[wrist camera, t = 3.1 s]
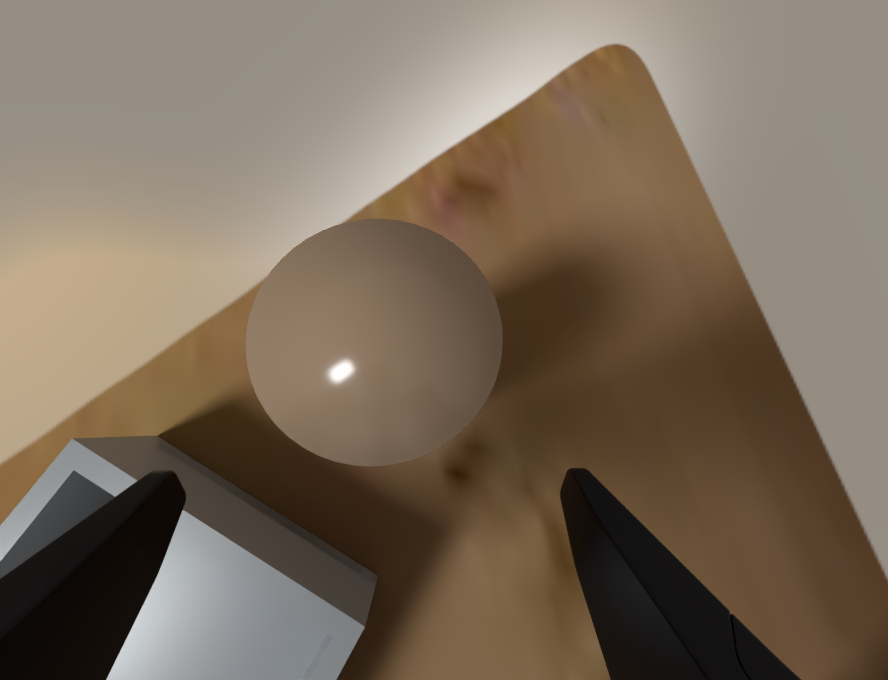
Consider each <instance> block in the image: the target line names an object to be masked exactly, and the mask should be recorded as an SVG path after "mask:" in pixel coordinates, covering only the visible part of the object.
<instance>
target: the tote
mask: <svg viewBox="0 0 888 680" xmlns="http://www.w3.org/2000/svg"><path fill="white" fill-rule="evenodd" d="M155 470H172V471H174V472H175V473H176V474H177V476H178V478H179V480H180V482H181V484H182V486H183V488H184V490H185V492H186V502H185V505H184V508H183V510H182V513H181V516H180V518H179V521H178V524H177V526H176V529H175V532H174V534H173V537H172V539H171V542H170V545H169V547H168V550H167V553H166V555H165V558H164V561H163V563H162V566H161V568H160V570H159V573H158V575H157V577H156V579H155V582H154V584H153V586H152V588H151V590H150V592H149V594H148V596H147V598H146V600H145V602H144V604H143V606H142V608H141V610H140V612H139V614H138V616H137V618H136V620H135V622H134V624H133V627H132V629H131V631H130V633H129V635H128V637H127V639H126V641H125V643H124V645H123V647H122V649H121V651H120V653H119V655H118V657H117V659H116V661H115V663H114V665H113V667H112V669H111V671H110V673H109V675H108V677H107V679H106V680H336V679H337V678H338V676H339V674H340V672H341V670H342V668H343V667H344V665H345V663H346V661H347V659H348V657H349V656H350V654H351V652H352V650H353V648H354V646H355V644H356V643H357V641H358V639H359V637H360V635H361V633H362V632H363V630H364V628H365V625H366V621H367V618H368V614H369V610H370V606H371V602H372V598H373V595H374V591H375V587H376V583H377V579H378V575H376V574H375V573H373V572H372V571H370V570H368V569H367V568H365V567H364V566H362V565H360V564H359V563H357V562H356V561H354V560H353V559H351V558H349V557H348V556H346V555H345V554H343V553H341V552H340V551H338V550H337V549H335V548H334V547H332V546H330V545H329V544H327V543H326V542H324V541H322V540H321V539H319V538H318V537H316V536H315V535H313V534H311V533H310V532H308V531H307V530H305V529H303V528H302V527H300V526H299V525H297V524H296V523H294V522H292V521H291V520H289V519H288V518H286V517H284V516H283V515H281V514H280V513H278V512H277V511H275V510H273V509H272V508H270V507H269V506H267V505H265V504H264V503H262V502H261V501H259V500H258V499H256V498H254V497H253V496H251V495H250V494H248V493H246V492H245V491H243V490H242V489H240V488H239V487H237V486H235V485H234V484H232V483H231V482H229V481H227V480H226V479H224V478H223V477H221V476H220V475H218V474H216V473H215V472H213V471H212V470H210V469H208V468H207V467H205V466H204V465H202V464H201V463H199V462H197V461H196V460H194V459H193V458H191V457H189V456H188V455H186V454H185V453H183V452H182V451H180V450H178V449H177V448H175V447H174V446H172V445H170V444H169V443H167V442H166V441H164V440H163V439H161V438H159V437H158V436H133V437H104V438H75V439H71V441H70V442H69V443H68V444H67V445H66V447H65V448H64V449H63V450H62V452H61V453H60V454H59V455H58V456H57V458H56V459H55V460H54V461H53V462H52V464H51V465H50V466H49V467H48V469H47V470H46V471H45V472H44V473H43V475H42V476H41V477H40V478H39V480H38V481H37V482H36V483H35V484H34V486H33V487H32V488H31V489H30V491H29V492H28V493H27V494H26V495H25V497H24V498H23V499H22V500H21V501H20V503H19V504H18V505H17V506H16V508H15V509H14V510H13V511H12V512H11V514H10V515H9V516H8V517H7V519H6V520H5V521H4V522H3V523H2V525H1V526H0V578H2V577H3V576H4V575H6V574H7V573H9V572H10V571H12V570H13V569H14V568H16V567H17V566H19V565H20V564H21V563H23V562H24V561H26V560H27V559H28V558H30V557H31V556H33V555H34V554H35V553H37V552H38V551H40V550H41V549H42V548H44V547H45V546H47V545H48V544H49V543H51V542H52V541H54V540H55V539H56V538H58V537H59V536H61V535H62V534H64V533H65V532H66V531H68V530H69V529H71V528H72V527H73V526H75V525H76V524H78V523H79V522H80V521H82V520H83V519H85V518H86V517H87V516H89V515H90V514H92V513H93V512H94V511H96V510H97V509H99V508H100V507H101V506H103V505H104V504H106V503H107V502H108V501H110V500H111V499H113V498H114V497H115V496H117V495H118V494H120V493H121V492H123V491H124V490H125V489H127V488H128V487H130V486H131V485H132V484H134V483H135V482H137V481H138V480H139V479H141V478H142V477H144V476H145V475H146V474H148V473H150V472H152V471H155Z"/></svg>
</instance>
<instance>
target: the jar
mask: <svg viewBox="0 0 888 680" xmlns="http://www.w3.org/2000/svg"><path fill="white" fill-rule="evenodd" d="M502 350H503V331H502V321H501V316H500V312H499V308H498V304H497V302H496V299H495V296H494V294H493V291H492V289H491V287H490V285H489V283H488V282H487V280H486V278H485V276H484V275H483V274H482V272H481V271H480V269H479V268H478V267H477V265H476V264H475V263H474V262H473V261H472V260H471V259H470V258H469V256H468V255H467V254H466V253H465V252H463V251H462V250H461V249H460V248H459V247H457V246H456V245H455V244H454V243H452V242H451V241H449V240H448V239H446V238H444V237H443V236H441V235H439V234H437V233H435V232H433V231H431V230H429V229H427V228H424V227H421V226H418V225H415V224H412V223H407V222H402V221H397V220H387V219H366V220H359V221H351V222H348V223H344V224H340V225H336V226H333V227H331V228H328V229H326V230H323V231H321V232H319V233H317V234H315V235H313V236H311V237H309V238H308V239H306V240H305V241H303V242H302V243H301V244H299V245H298V246H296V247H295V248H293V249H292V250H291V251H290V252H289V253H288V254H287V255H286V256H285V257H283V258H282V259H281V260H280V262H279V263H278V264H277V265H276V266H275V267H274V268H273V270H272V271H271V272H270V274H269V275H268V277H267V278H266V280H265V281H264V283H263V284H262V286H261V288H260V290H259V292H258V294H257V296H256V298H255V301H254V304H253V306H252V309H251V312H250V316H249V321H248V326H247V331H246V358H247V366H248V371H249V375H250V379H251V382H252V385H253V388H254V390H255V393H256V395H257V397H258V399H259V401H260V403H261V405H262V406H263V408H264V410H265V412H266V413H267V414H268V415H269V417H270V418H271V419H272V421H273V422H274V423H275V424H276V426H277V427H278V428H280V429H281V430H282V431H283V432H284V433H285V434H286V435H287V436H288V437H289V438H290V439H292V440H293V441H295V442H296V443H297V444H299V445H300V446H301V447H303V448H305V449H307V450H309V451H310V452H312V453H314V454H316V455H318V456H321V457H323V458H326V459H329V460H332V461H335V462H339V463H344V464H349V465H353V466H369V467H374V466H388V465H394V464H399V463H404V462H408V461H411V460H414V459H416V458H419V457H422V456H425V455H427V454H429V453H431V452H433V451H435V450H437V449H438V448H440V447H442V446H443V445H445V444H446V443H448V442H449V441H451V440H452V439H453V438H455V437H456V436H457V435H458V434H459V433H460V432H461V431H463V430H464V429H465V428H466V427H467V426H468V425H469V424H470V423H471V421H472V420H473V419H474V418H475V417H476V415H477V414H478V413H479V412H480V410H481V408H482V407H483V405H484V404H485V402H486V401H487V399H488V397H489V395H490V393H491V391H492V388H493V386H494V384H495V381H496V378H497V375H498V372H499V368H500V363H501V357H502Z"/></svg>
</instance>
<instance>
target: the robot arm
mask: <svg viewBox="0 0 888 680" xmlns="http://www.w3.org/2000/svg"><path fill="white" fill-rule="evenodd" d="M560 497H561V503H562V508H563V512H564V517H565V522H566V527H567V531H568V536H569V541H570V546H571V550H572V555H573V559H574V564H575V567H576V571H577V574H578V578H579V581H580V584H581V587H582V590H583V593H584V597H585V600H586V603H587V606H588V609H589V612H590V615H591V619H592V622H593V625H594V628H595V631H596V634H597V638H598V641H599V644H600V647H601V650H602V653H603V656H604V660H605V663H606V666H607V669H608V672H609V675H610V678H611V680H801V679H800V678H799V677H798V676H797V675H796V674H795V673H793V672H792V671H791V670H790V669H789V668H788V667H787V666H786V665H785V664H784V663H783V662H782V661H780V660H779V659H778V658H777V657H776V656H775V655H774V654H773V653H772V652H771V651H770V650H769V649H768V648H767V647H766V646H765V645H764V644H763V643H762V642H761V641H760V640H759V639H758V638H757V637H756V636H755V635H754V634H752V633H751V632H750V631H749V630H748V629H747V628H746V627H745V626H744V625H743V624H742V623H741V622H740V621H739V620H738V619H737V618H736V617H735V616H734V615H733V614H731V615H730V611H729V610H728V609H727V608H726V607H725V606H724V605H723V604H722V603H721V602H720V601H719V600H718V599H717V598H716V597H715V596H714V595H713V594H712V593H711V592H710V591H709V590H708V589H707V588H706V587H705V586H704V585H703V584H702V583H701V582H700V581H699V580H698V579H697V578H696V577H695V576H694V575H693V574H692V573H691V572H690V571H689V570H688V569H687V568H686V567H685V566H684V565H683V564H682V563H681V562H680V561H679V560H678V559H677V558H676V557H675V556H674V555H673V554H672V553H671V552H670V551H669V550H668V549H667V548H666V547H665V546H664V545H663V544H662V543H661V542H660V541H659V540H658V539H657V538H656V537H655V536H654V535H653V534H652V533H651V532H650V531H649V530H648V529H647V528H646V527H645V526H644V525H643V524H642V523H641V522H640V521H639V520H638V519H637V518H636V517H635V516H634V515H633V514H632V513H631V512H630V511H629V510H628V509H627V508H626V507H625V506H624V505H623V504H622V503H621V502H620V501H619V500H618V499H616V498H615V497H614V496H613V495H612V494H611V493H610V492H609V491H608V490H607V489H606V488H605V487H604V486H603V485H602V484H601V483H600V482H599V481H598V480H597V479H596V478H595V477H594V476H593V475H592V474H591V473H590V472H589V471H588V470H587V469H584V468H571V469H569V470H568V471H567V473H566V476H565V479H564V481H563V484H562V487H561V492H560ZM185 502H186V492H185V490H184V488H183V486H182V484H181V482H180V480H179V478H178V476H177V474H176V473H175V472H174V471H172V470H155V471H152V472H150V473H148V474H146V475H145V476H144V477H142V478H141V479H139V480H138V481H137V482H135V483H134V484H132V485H131V486H130V487H128V488H127V489H125V490H124V491H123V492H121V493H120V494H118V495H117V496H115V497H114V498H113V499H111V500H110V501H108V502H107V503H106V504H104V505H103V506H101V507H100V508H99V509H97V510H96V511H94V512H93V513H92V514H90V515H89V516H87V517H86V518H85V519H83V520H82V521H80V522H79V523H78V524H76V525H75V526H73V527H72V528H71V529H69V530H68V531H66V532H65V533H64V534H62V535H61V536H59V537H58V538H56V539H55V540H54V541H52V542H51V543H49V544H48V545H47V546H45V547H44V548H42V549H41V550H40V551H38V552H37V553H35V554H34V555H33V556H31V557H30V558H28V559H27V560H26V561H24V562H23V563H21V564H20V565H19V566H17V567H16V568H14V569H13V570H12V571H10V572H9V573H7V574H6V575H4V576H3V577H2V578H0V680H106V679H107V677H108V675H109V673H110V671H111V669H112V667H113V665H114V663H115V661H116V659H117V657H118V655H119V653H120V651H121V649H122V647H123V645H124V643H125V641H126V639H127V637H128V635H129V633H130V631H131V629H132V627H133V624H134V622H135V620H136V618H137V616H138V614H139V612H140V610H141V608H142V606H143V604H144V602H145V600H146V598H147V596H148V594H149V592H150V590H151V588H152V586H153V584H154V582H155V579H156V577H157V575H158V573H159V570H160V568H161V566H162V563H163V561H164V558H165V555H166V553H167V550H168V547H169V545H170V542H171V539H172V537H173V534H174V532H175V529H176V526H177V524H178V521H179V518H180V516H181V513H182V510H183V508H184V505H185Z"/></svg>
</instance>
